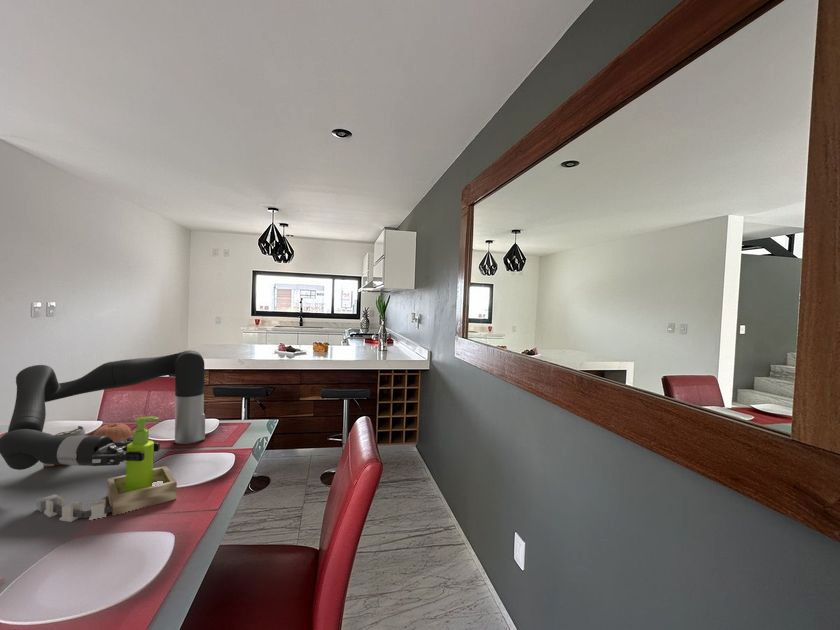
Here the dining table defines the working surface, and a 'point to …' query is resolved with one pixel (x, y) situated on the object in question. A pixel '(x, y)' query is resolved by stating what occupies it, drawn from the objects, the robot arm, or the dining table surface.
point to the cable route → (71, 508)
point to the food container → (76, 432)
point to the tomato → (114, 431)
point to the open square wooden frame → (141, 492)
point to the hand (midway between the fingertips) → (151, 451)
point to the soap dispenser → (142, 471)
